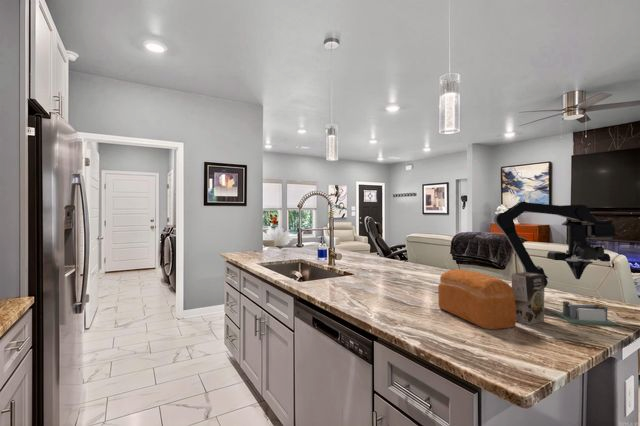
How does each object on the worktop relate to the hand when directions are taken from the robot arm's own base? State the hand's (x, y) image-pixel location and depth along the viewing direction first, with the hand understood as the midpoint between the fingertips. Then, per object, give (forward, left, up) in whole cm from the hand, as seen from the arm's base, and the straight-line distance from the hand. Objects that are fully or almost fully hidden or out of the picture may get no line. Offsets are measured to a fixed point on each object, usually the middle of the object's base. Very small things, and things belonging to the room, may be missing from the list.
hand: (577, 279), depth 123 cm
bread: (-41, -13, -12) cm, 45 cm away
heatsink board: (-4, -11, -12) cm, 16 cm away
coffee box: (-24, -15, -12) cm, 31 cm away
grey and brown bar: (-4, -10, -8) cm, 14 cm away
